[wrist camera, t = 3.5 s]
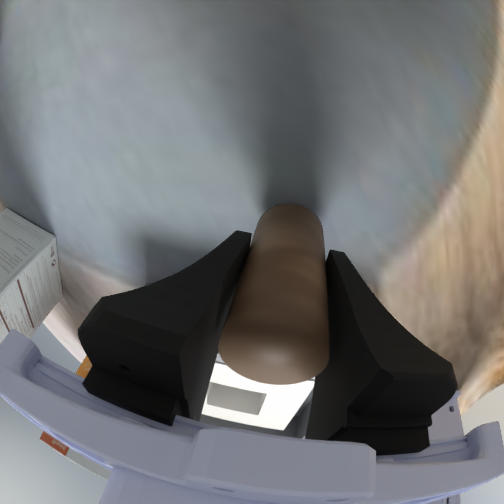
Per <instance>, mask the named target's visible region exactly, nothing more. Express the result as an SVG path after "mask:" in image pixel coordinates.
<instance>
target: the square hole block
mask: <svg viewBox="0 0 504 504" xmlns="http://www.w3.org/2000/svg"><path fill="white" fill-rule="evenodd" d="M147 285H150V284H148V283H147V284H146V285H145V286H147ZM314 381H315V377H314V378H312V379H310V380H307V381H304V382H301V383H296V384H289V385H273V384H265V383H260V382H256V381H253V380H250V379H248V378H245V377H243V376H241V375H239V374H237V373H236V372H234V371H233V370H232V369H230V368H229V367H228V366H227V365H226V364H225V363H224V361H223V360H222V358H221V357H220V354H219V351H218V354H217V357H216V361H215V364H214V368H213V372H212V375H211V379H210V383H209V386H208V390H207V394H206V398H205V402H204V406H203V410H202V414H201V418H200V422H203V423H207V424H211V425H215V426H219V427H227V428H234V429H242V430H248V431H253V432H259V433H265V434H271V435H278V436H285V437H293V438H301V439H305V435H306V430H307V425H308V420H309V415H310V409H311V403H312V396H313V389H314Z"/></svg>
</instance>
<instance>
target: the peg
mask: <svg viewBox="0 0 504 504" xmlns="http://www.w3.org/2000/svg"><path fill="white" fill-rule="evenodd" d="M218 351H219V354H220V357H221V358H222V360H223V361H224V363H225V364H226V365H227V366H228V367H229V368H230V369H232V370H233V371H234V372H236V373H237V374H239V375H241V376H243V377H245V378H248V379H250V380H253V381H256V382H260V383H265V384H273V385H289V384H296V383H301V382H304V381H307V380H310V379H312V378H314V377H315V376H317V375H318V374H320V373H321V372H322V371H323V370H324V369H325V367H326V366H327V364H328V361H329V318H328V294H327V276H326V261H325V248H324V236H323V228H322V225H321V222H320V220H319V219H318V217H317V216H316V215H315V214H314V213H313V212H312V211H310V210H309V209H307V208H306V207H303V206H301V205H297V204H280V205H277V206H274V207H272V208H270V209H269V210H267V211H266V212H265V213H264V214H263V215H262V216H261V218H260V219H259V221H258V224H257V227H256V230H255V233H254V236H253V239H252V242H251V245H250V248H249V251H248V254H247V257H246V261H245V263H244V266H243V269H242V272H241V275H240V278H239V281H238V284H237V287H236V290H235V294H234V297H233V300H232V303H231V306H230V309H229V312H228V315H227V318H226V321H225V324H224V327H223V330H222V333H221V336H220V339H219V343H218Z"/></svg>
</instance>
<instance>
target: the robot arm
mask: <svg viewBox="0 0 504 504" xmlns="http://www.w3.org/2000/svg"><path fill="white" fill-rule="evenodd" d="M251 235H252V233H248V232H243V231H235V232H234V233H233V234H232V235H230V236H229V237H228V238H227V239H226V240H225V241H223V242H222V243H221V244H220V245H219V246H217V247H216V248H215V249H213V250H212V251H211V252H210V253H208V254H207V255H205V256H204V257H203V258H201V259H200V260H198V261H197V262H195V263H194V264H192V265H190V266H189V267H187V268H185V269H184V270H182V271H180V272H178V273H176V274H174V275H172V276H169V277H167V278H165V279H162V280H160V281H158V282H155V283H153V284H150V285H147V286H144V287H141V288H138V289H135V290H131V291H127V292H123V293H119V294H114V295H110V296H105V297H102V298H101V299H100V300H99V301H98V302H97V304H96V305H95V306H94V307H93V309H92V310H91V312H90V313H89V314H88V316H87V317H86V319H85V320H84V321H83V323H82V324H81V326H80V327H79V329H78V336H79V340H80V342H81V345H82V347H83V349H84V351H85V353H86V355H87V356H88V358H89V360H90V362H91V364H92V367H91V369H90V371H89V372H88V374H87V376H86V378H83V377H81V376H79V375H77V374H75V373H73V372H71V371H69V370H67V369H66V368H64V367H62V366H60V365H58V364H57V363H55V362H53V361H51V360H49V359H48V358H46V357H44V356H43V355H41V352H40V350H39V349H38V347H37V346H36V345H35V343H34V342H33V341H31V340H30V339H29V338H28V337H26V336H25V335H23V334H21V333H20V332H18V331H17V330H15V329H11V331H10V332H9V333H8V334H7V336H6V337H5V338H4V340H3V341H2V342H1V344H0V396H1V397H2V398H3V399H4V400H6V401H7V402H8V403H9V404H10V405H11V406H12V407H13V408H14V409H16V410H17V411H18V412H19V413H21V414H22V415H23V416H24V417H26V418H27V419H28V420H30V421H31V422H32V423H34V424H35V425H37V426H38V427H39V428H41V429H42V430H43V431H45V432H46V433H48V434H49V435H51V436H52V437H54V438H55V439H57V440H58V441H60V442H61V443H63V444H64V445H66V446H68V447H69V448H71V449H73V450H74V451H76V452H78V453H79V454H81V455H83V456H85V457H86V458H88V459H90V460H92V461H94V462H96V463H97V464H99V465H101V466H103V467H105V468H107V469H109V470H111V474H110V476H109V479H108V482H107V484H106V487H105V490H104V492H103V495H102V497H101V500H100V502H99V504H460V493H463V492H465V491H468V490H470V489H473V488H475V487H477V486H479V485H482V484H484V483H486V482H488V481H490V480H492V479H494V478H496V477H498V476H500V475H502V474H504V446H503V441H502V435H501V430H500V425H499V422H498V421H496V422H492V423H487V424H483V425H480V426H478V427H476V428H475V429H473V430H472V431H470V432H469V433H468V434H467V435H464V433H463V427H462V421H461V416H460V411H459V406H458V402H457V397H458V396H459V395H460V394H461V391H460V390H457V381H456V378H455V374H454V371H453V367H452V364H451V363H450V362H448V361H447V360H445V359H444V358H442V357H441V356H439V355H438V354H436V353H435V352H433V351H432V350H431V349H429V348H428V347H427V346H425V345H424V344H423V343H422V342H420V341H419V340H418V339H417V338H415V337H414V336H413V335H412V334H411V333H410V332H408V331H407V330H406V329H405V328H404V327H403V326H402V325H401V324H400V323H399V322H398V321H397V320H396V319H395V318H394V317H393V316H392V315H391V314H390V313H389V312H388V311H387V309H386V308H385V307H384V306H383V305H382V304H381V303H380V301H379V300H378V299H377V298H376V296H375V295H374V294H373V293H372V291H371V290H370V289H369V287H368V286H367V285H366V283H365V282H364V280H363V279H362V278H361V276H360V275H359V273H358V272H357V270H356V269H355V267H354V266H353V264H352V263H351V261H350V260H349V259H348V257H347V256H346V254H345V253H344V252H339V251H335V250H330V251H329V254H328V257H327V260H326V276H327V294H328V318H329V361H328V364H327V366H326V367H325V369H324V370H323V371H322V372H321V373H320V374H318V375H317V376H315V381H314V389H313V396H312V403H311V409H310V415H309V420H308V425H307V430H306V435H305V439H301V438H293V437H285V436H278V435H271V434H265V433H259V432H253V431H248V430H242V429H234V428H227V427H219V426H215V425H211V424H207V423H203V422H200V418H201V414H202V410H203V406H204V402H205V398H206V394H207V390H208V386H209V383H210V379H211V375H212V372H213V368H214V364H215V361H216V357H217V354H218V343H219V339H220V336H221V333H222V330H223V327H224V324H225V321H226V318H227V315H228V312H229V309H230V306H231V303H232V300H233V297H234V294H235V290H236V287H237V284H238V281H239V278H240V275H241V272H242V269H243V266H244V263H245V261H246V257H247V254H248V251H249V248H250V242H251Z"/></svg>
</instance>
